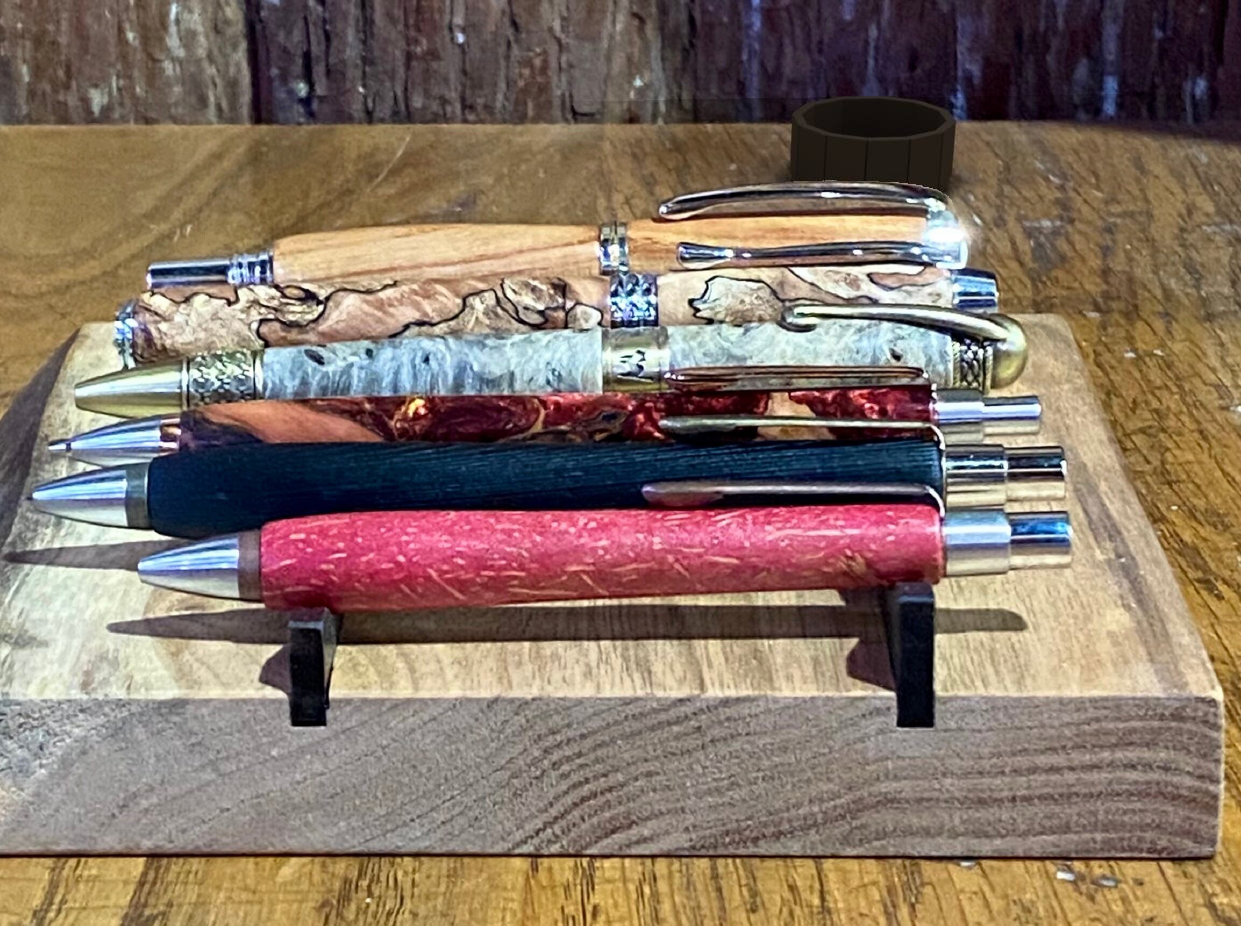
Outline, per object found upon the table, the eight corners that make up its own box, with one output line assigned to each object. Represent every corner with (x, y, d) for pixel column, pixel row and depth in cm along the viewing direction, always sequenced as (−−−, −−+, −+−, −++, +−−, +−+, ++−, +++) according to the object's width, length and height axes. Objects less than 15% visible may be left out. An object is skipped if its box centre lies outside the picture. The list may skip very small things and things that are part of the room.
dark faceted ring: (968, 169, 110) (973, 106, 108) (920, 213, 103) (925, 147, 102) (823, 150, 113) (826, 89, 112) (767, 192, 107) (770, 128, 105)
